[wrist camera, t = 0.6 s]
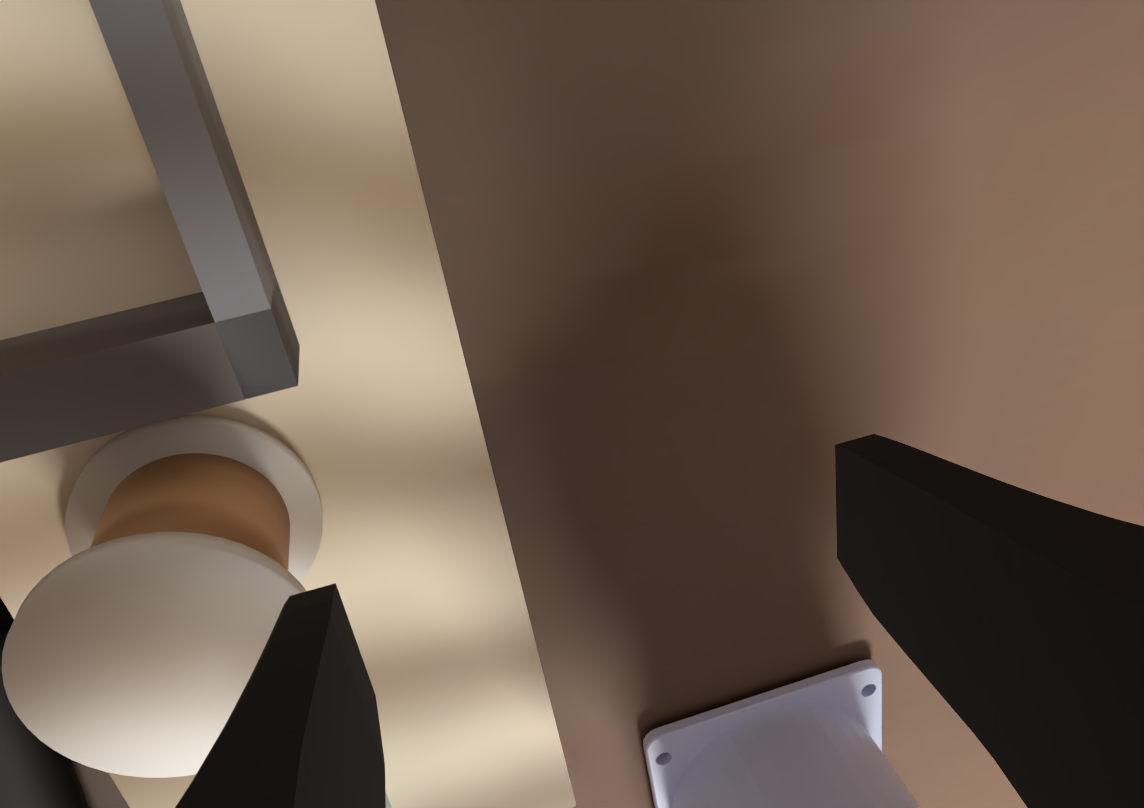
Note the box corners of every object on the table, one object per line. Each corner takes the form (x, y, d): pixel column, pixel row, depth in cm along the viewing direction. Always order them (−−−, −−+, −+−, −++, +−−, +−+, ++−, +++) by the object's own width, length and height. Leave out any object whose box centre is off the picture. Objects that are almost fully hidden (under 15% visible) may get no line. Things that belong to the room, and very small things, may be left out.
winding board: (566, 774, 28) (623, 960, 23) (210, 892, 27) (184, 1120, 22) (316, -221, 16) (317, -304, 11) (-380, -106, 14) (-782, -136, 9)
